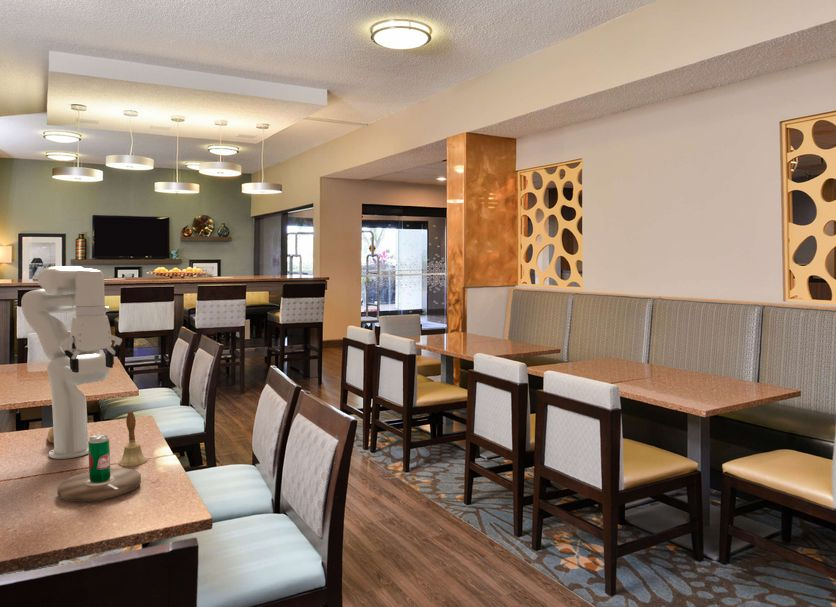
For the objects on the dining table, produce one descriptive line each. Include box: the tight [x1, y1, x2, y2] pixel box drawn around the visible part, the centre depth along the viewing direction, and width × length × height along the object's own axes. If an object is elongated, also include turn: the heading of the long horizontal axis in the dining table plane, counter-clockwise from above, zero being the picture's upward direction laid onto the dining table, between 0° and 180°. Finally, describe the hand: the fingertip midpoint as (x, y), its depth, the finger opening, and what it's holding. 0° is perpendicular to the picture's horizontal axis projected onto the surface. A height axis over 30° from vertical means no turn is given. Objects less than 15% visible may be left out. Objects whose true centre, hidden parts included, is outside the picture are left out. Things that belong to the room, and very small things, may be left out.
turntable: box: [57, 467, 142, 502], centre depth 163 cm, size 20×20×2 cm
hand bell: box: [117, 410, 148, 467], centre depth 186 cm, size 8×8×16 cm
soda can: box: [88, 434, 111, 483], centre depth 163 cm, size 5×5×12 cm
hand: (92, 369), depth 177 cm, fingers open, 9 cm apart
